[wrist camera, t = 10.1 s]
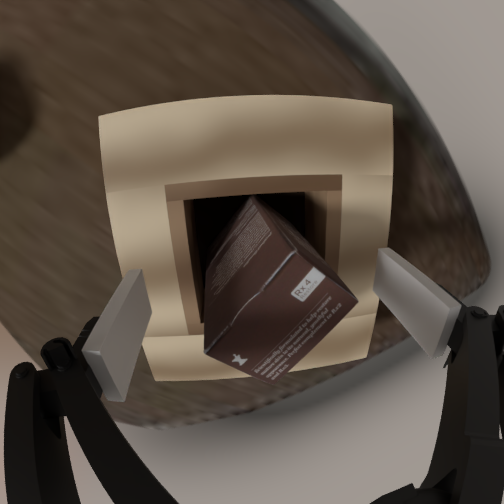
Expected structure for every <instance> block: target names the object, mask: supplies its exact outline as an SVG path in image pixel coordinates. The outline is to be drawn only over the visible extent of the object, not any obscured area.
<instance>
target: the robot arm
mask: <svg viewBox="0 0 504 504" xmlns="http://www.w3.org/2000/svg"><path fill="white" fill-rule="evenodd" d="M373 292H374V293H375V294H376V295H377V296H378V297H379V298H380V299H381V301H382V302H383V303H384V304H385V305H386V306H387V307H388V308H389V310H390V311H391V312H392V313H393V314H394V315H395V317H396V318H397V319H398V320H399V321H400V322H401V323H402V325H403V326H404V327H405V328H406V329H407V331H408V332H409V333H410V334H411V335H412V336H413V338H414V339H415V340H416V341H417V343H418V344H419V345H420V346H421V347H422V349H423V350H424V351H425V352H426V353H427V355H428V356H429V357H430V358H431V359H434V358H436V357H439V356H442V355H443V354H444V351H445V349H446V346H447V345H448V346H449V347H450V348H451V351H450V353H449V355H448V358H447V360H446V362H445V364H444V367H443V368H445V367H446V365H448V370H447V381H446V389H445V396H444V403H443V409H442V415H441V421H440V426H439V431H438V436H437V440H436V444H435V449H434V453H433V456H432V460H431V464H430V467H429V471H428V474H427V476H426V478H425V479H424V481H423V483H422V484H421V486H420V488H416V489H415V488H414V486H413V484H412V483H411V484H409V485H407V486H405V487H402V488H400V489H398V490H395V491H393V492H390V493H388V494H385V495H383V496H381V497H380V498H378V499H376V500H375V501H373V502H371V503H370V504H501V501H502V496H503V491H504V305H501V306H499V308H498V311H497V314H496V315H489V314H488V313H487V312H486V311H485V310H484V309H482V308H480V307H476V306H471V307H466V306H465V305H464V304H463V303H462V302H461V301H459V300H458V299H457V298H456V297H455V296H452V294H451V293H450V292H448V291H447V290H446V289H445V288H444V287H443V286H441V285H439V284H437V283H435V282H433V281H432V280H431V279H429V278H428V277H427V276H426V275H424V274H423V273H422V272H421V271H419V270H418V269H417V268H416V267H414V266H413V265H412V264H410V263H409V262H408V261H406V260H405V259H404V258H402V257H401V256H400V255H398V254H397V253H396V252H394V251H393V250H392V249H390V248H379V249H378V255H377V263H376V270H375V277H374V284H373ZM151 315H152V309H151V305H150V301H149V297H148V293H147V289H146V285H145V280H144V276H143V271H142V269H131V270H128V272H127V273H126V275H125V277H124V278H123V280H122V281H121V283H120V284H119V286H118V288H117V289H116V291H115V293H114V294H113V296H112V297H111V299H110V301H109V302H108V304H107V306H106V307H105V309H104V311H103V313H102V314H101V316H100V317H93V318H92V319H91V320H90V321H88V322H87V323H86V325H85V326H84V328H83V330H82V331H81V333H80V335H79V337H78V338H77V340H76V342H75V343H74V345H73V347H72V345H71V343H70V341H69V340H68V339H66V338H63V337H61V338H55V339H52V340H50V341H48V342H47V343H46V344H45V345H44V346H43V347H42V349H41V356H42V358H43V360H44V362H45V363H46V365H47V367H48V369H46V370H40V371H37V370H36V368H35V367H34V365H33V364H32V363H30V362H23V363H20V364H18V365H16V366H15V367H14V368H13V370H12V371H11V373H10V378H9V384H8V392H7V400H6V411H5V425H4V468H5V469H4V470H5V484H6V493H7V502H8V504H81V502H80V499H79V495H78V492H77V488H76V484H75V480H74V475H73V471H72V466H71V461H70V456H69V451H68V445H67V439H66V432H65V424H64V416H67V418H68V420H69V423H70V425H71V427H72V430H73V431H74V434H75V436H76V438H77V440H78V442H79V444H80V446H81V448H82V450H83V452H84V454H85V456H86V458H87V460H88V462H89V463H90V465H91V467H92V469H93V470H94V472H95V474H96V476H97V477H98V479H99V481H100V482H101V484H102V486H103V487H104V489H105V490H106V492H107V493H108V495H109V496H110V498H111V499H112V501H113V502H114V504H179V503H178V502H177V501H176V500H175V499H174V498H173V497H172V496H171V495H170V494H169V493H168V491H167V490H166V489H165V488H164V487H163V486H162V485H161V483H160V482H159V481H158V480H157V479H156V478H155V476H154V475H153V474H152V473H151V472H150V470H149V469H148V468H147V467H146V466H145V464H144V463H143V462H142V460H141V459H140V458H139V456H138V455H137V454H136V452H135V451H134V450H133V448H132V447H131V446H130V444H129V443H128V441H127V440H126V439H125V437H124V436H123V434H122V433H121V432H120V430H119V428H118V427H117V425H116V424H115V422H114V421H113V419H112V418H111V416H110V414H109V413H108V411H107V410H106V408H105V406H104V405H103V403H102V401H101V400H100V398H101V395H102V392H103V393H104V395H105V396H106V398H107V400H108V401H119V402H125V398H126V395H127V391H128V387H129V384H130V380H131V377H132V374H133V370H134V367H135V364H136V360H137V357H138V354H139V351H140V348H141V345H142V342H143V338H144V335H145V332H146V329H147V326H148V323H149V321H150V318H151ZM499 425H500V428H501V433H502V439H500V438H499Z"/></svg>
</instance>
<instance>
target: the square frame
mask: <svg viewBox="0 0 504 504" xmlns="http://www.w3.org/2000/svg"><path fill="white" fill-rule="evenodd" d="M99 133H100V146H101V157H102V166H103V175H104V183H105V190H106V197H107V204H108V210H109V216H110V221H111V227H112V232H113V237H114V242H115V247H116V252H117V256H118V261H119V265H120V269H121V273H122V277H123V278H124V277H125V275H126V273H127V272H128V270H131V269H142V271H143V276H144V280H145V285H146V289H147V293H148V297H149V301H150V305H151V309H152V315H151V318H150V321H149V323H148V326H147V329H146V332H145V335H144V338H143V342H142V345H143V348H144V351H145V354H146V357H147V360H148V363H149V365H150V368H151V371H152V373H153V376H154V379H155V381H188V380H211V379H227V378H239V377H250V375H248V374H246V373H244V372H242V371H239V370H237V369H235V368H233V367H231V366H229V365H226V364H224V363H222V362H220V361H218V360H216V359H213V358H211V357H209V356H207V355H206V354H204V352H203V351H204V308H205V307H204V306H205V289H204V286H203V278H202V271H201V263H200V256H199V247H198V239H197V231H196V222H195V212H194V203H193V199H199V198H210V197H222V196H235V195H249V194H265V193H283V192H305V239H306V240H307V241H308V242H309V243H310V244H311V245H312V247H313V248H314V249H315V250H316V251H317V252H318V254H319V255H320V256H321V257H322V258H323V259H324V260H325V261H326V262H327V263H328V265H329V266H330V267H331V268H332V269H333V270H334V272H335V273H336V274H337V275H338V276H339V277H340V279H341V280H342V281H343V282H344V283H345V285H346V286H347V287H348V288H349V289H350V290H351V292H352V293H353V294H354V295H355V297H356V298H357V299H358V301H359V302H358V303H357V304H356V306H355V307H354V308H353V309H352V310H351V311H350V312H349V313H348V314H347V315H346V316H345V317H344V318H343V319H342V320H341V321H340V322H339V323H338V324H337V325H336V326H335V327H334V328H333V329H332V330H331V331H330V332H329V333H328V334H327V335H326V336H325V337H324V338H323V339H322V340H321V341H320V342H319V343H318V344H317V345H316V346H315V347H314V348H313V349H312V350H311V351H310V352H309V353H308V354H307V355H306V356H305V357H304V358H303V359H301V360H300V361H299V362H298V363H297V364H296V365H295V366H294V367H293V368H292V369H291V370H290V371H288V372H291V371H298V370H304V369H310V368H316V367H322V366H327V365H333V364H338V363H343V362H348V361H352V360H357V359H361V358H366V357H367V353H368V349H369V345H370V340H371V336H372V332H373V327H374V323H375V318H376V313H377V308H378V303H379V297H378V296H377V295H376V294H375V293H374V292H373V284H374V277H375V270H376V263H377V255H378V249H379V248H387V244H388V235H389V226H390V214H391V201H392V183H393V111H392V105H390V104H384V103H377V102H370V101H363V100H354V99H345V98H333V97H320V96H299V95H248V96H227V97H214V98H202V99H193V100H184V101H176V102H169V103H162V104H156V105H150V106H144V107H139V108H134V109H129V110H124V111H119V112H115V113H110V114H106V115H102V116H99Z"/></svg>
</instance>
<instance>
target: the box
mask: <svg viewBox="0 0 504 504" xmlns="http://www.w3.org/2000/svg"><path fill="white" fill-rule="evenodd" d="M205 280H206V281H205V306H204V307H205V308H204V351H203V352H204V354H206V355H207V356H209V357H211V358H213V359H216V360H218V361H220V362H222V363H224V364H226V365H229V366H231V367H233V368H235V369H237V370H239V371H242V372H244V373H246V374H248V375H250V376H252V377H255V378H257V379H260V380H262V381H264V382H267V383H270V384H275V383H276V382H277V381H278V380H280V379H281V378H282V377H283V376H284V375H285V374H286V373H287V372H288V371H290V370H291V369H292V368H293V367H294V366H295V365H296V364H297V363H298V362H299V361H300V360H301V359H303V358H304V357H305V356H306V355H307V354H308V353H309V352H310V351H311V350H312V349H313V348H314V347H315V346H316V345H317V344H318V343H319V342H320V341H321V340H322V339H323V338H324V337H325V336H326V335H327V334H328V333H329V332H330V331H331V330H332V329H333V328H334V327H335V326H336V325H337V324H338V323H339V322H340V321H341V320H342V319H343V318H344V317H345V316H346V315H347V314H348V313H349V312H350V311H351V310H352V309H353V308H354V307H355V306H356V304H357V303H358V302H359V301H358V299H357V298H356V297H355V295H354V294H353V293H352V292H351V290H350V289H349V288H348V287H347V286H346V285H345V283H344V282H343V281H342V280H341V279H340V277H339V276H338V275H337V274H336V273H335V272H334V270H333V269H332V268H331V267H330V266H329V265H328V263H327V262H326V261H325V260H324V259H323V258H322V257H321V256H320V255H319V254H318V252H317V251H316V250H315V249H314V248H313V247H312V245H311V244H310V243H309V242H308V241H307V240H306V239H305V238H304V237H303V236H302V235H301V234H300V232H299V231H298V230H297V229H296V228H295V227H294V225H293V224H292V223H291V222H290V221H288V220H287V219H286V218H285V217H283V216H282V215H281V214H280V213H278V212H277V211H276V210H275V209H273V208H272V207H271V206H269V205H268V204H267V203H266V202H264V201H263V200H262V199H260V198H259V197H258V196H257V195H255V194H250V195H249V196H248V197H247V199H246V200H245V201H244V202H243V203H242V205H241V206H240V207H239V208H238V210H237V211H236V212H235V213H234V215H233V216H232V217H231V218H230V220H229V221H228V222H227V224H226V225H225V226H224V227H223V229H222V230H221V231H220V233H219V234H218V235H217V237H216V238H215V239H214V241H213V242H212V243H211V245H210V246H209V247H208V249H207V257H206V279H205Z"/></svg>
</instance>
